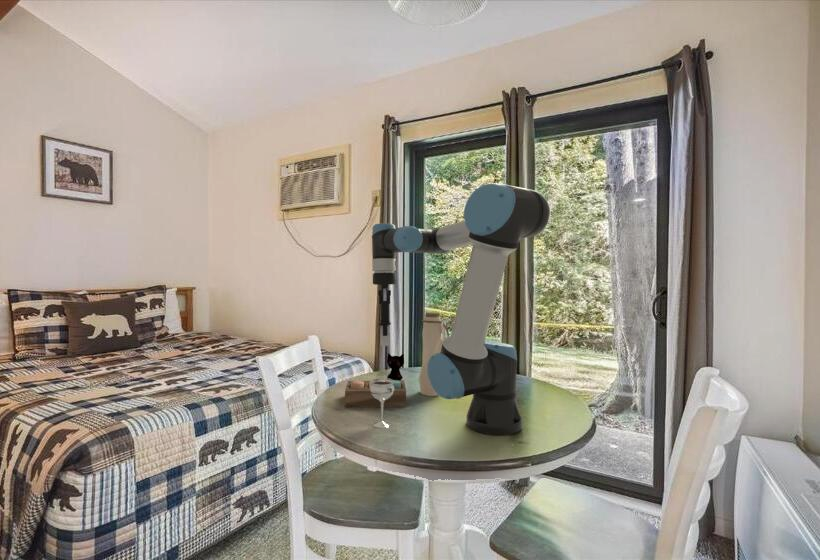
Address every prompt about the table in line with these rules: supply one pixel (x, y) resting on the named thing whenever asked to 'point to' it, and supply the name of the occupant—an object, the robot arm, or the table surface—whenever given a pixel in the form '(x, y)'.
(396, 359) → the cat figurine
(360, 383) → the terracotta button
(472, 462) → the table surface
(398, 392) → the console
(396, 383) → the teal button
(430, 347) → the water bottle
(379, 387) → the wineglass
